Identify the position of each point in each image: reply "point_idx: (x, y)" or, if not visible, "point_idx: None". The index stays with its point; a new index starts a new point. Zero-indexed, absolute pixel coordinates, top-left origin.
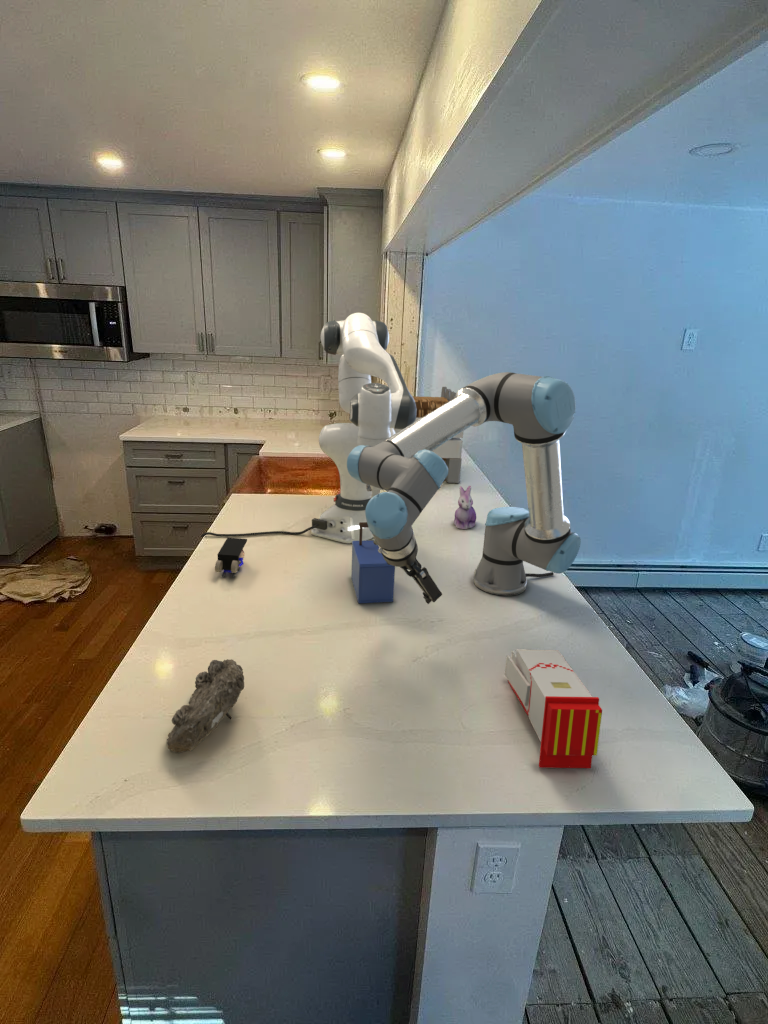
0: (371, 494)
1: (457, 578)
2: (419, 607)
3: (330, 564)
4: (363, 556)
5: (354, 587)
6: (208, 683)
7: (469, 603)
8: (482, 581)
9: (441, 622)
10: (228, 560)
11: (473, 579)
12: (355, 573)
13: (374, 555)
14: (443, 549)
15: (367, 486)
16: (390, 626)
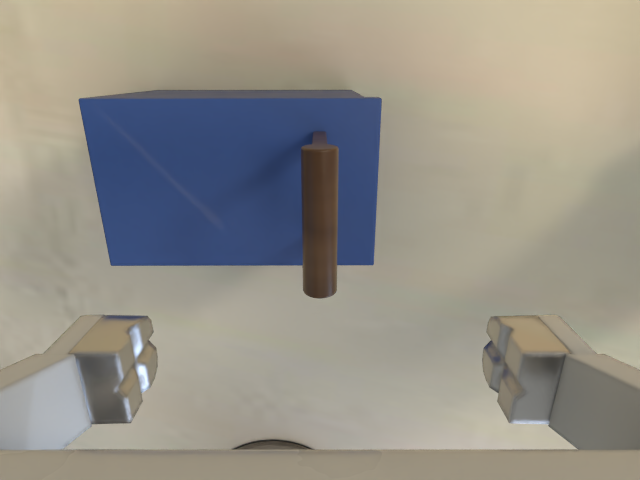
0: (112, 353)
1: (316, 411)
2: (141, 277)
3: (491, 13)
4: (173, 132)
5: (259, 90)
6: None
7: (169, 401)
8: None
9: (61, 314)
10: None
11: (292, 446)
12: (230, 93)
13: (187, 188)
14: (519, 423)
15: (515, 349)
16: (19, 173)
